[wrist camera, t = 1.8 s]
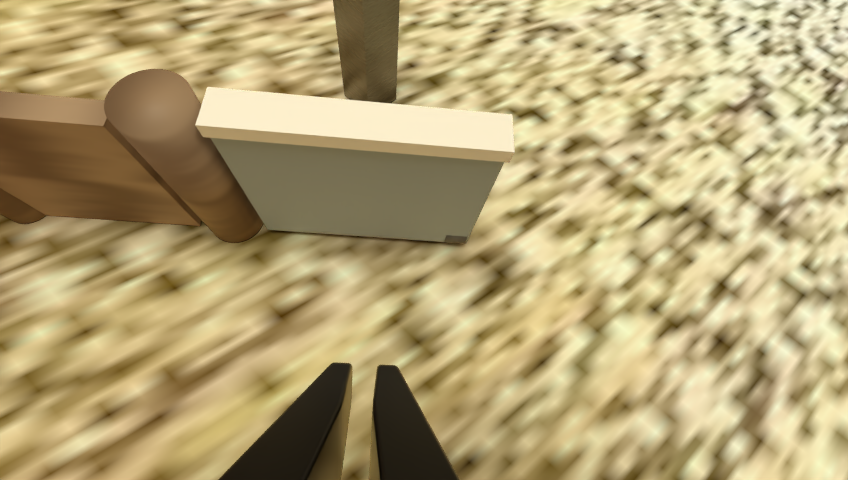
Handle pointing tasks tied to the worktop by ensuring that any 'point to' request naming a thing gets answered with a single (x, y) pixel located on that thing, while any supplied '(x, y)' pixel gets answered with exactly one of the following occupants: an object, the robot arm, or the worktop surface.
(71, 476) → the worktop surface
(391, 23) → the stile
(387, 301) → the worktop surface
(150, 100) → the fence
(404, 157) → the cream flat slab
